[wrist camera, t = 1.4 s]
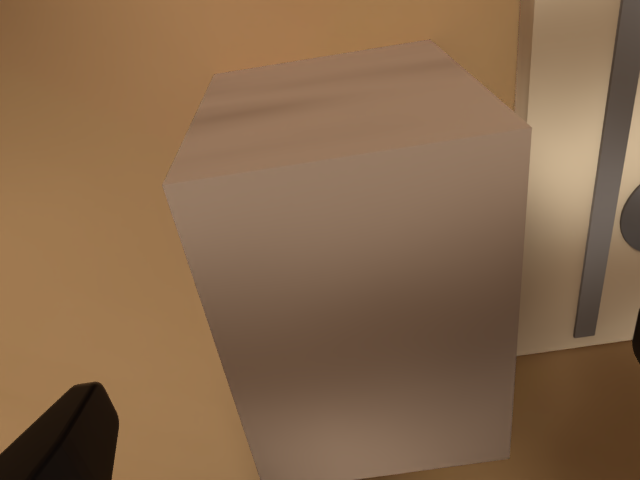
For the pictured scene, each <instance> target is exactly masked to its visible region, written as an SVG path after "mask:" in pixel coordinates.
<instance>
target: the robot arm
mask: <svg viewBox="0 0 640 480" xmlns="http://www.w3.org/2000/svg"><path fill="white" fill-rule="evenodd" d="M632 346H633V351H634V354H635V356H636V358H637V360H638V362H639V364H640V308H639V311H638V316H637V321H636V325H635V330H634V334H633V339H632ZM118 430H119V419H118V415H117V412H116V410H115V408H114V406H113V404H112V402H111V400H110V398H109V396H108V394H107V392H106V390H105V388H104V387H103V385H102V384H101V383H99V382H90V383H83V384H77V385H74V386H73V387H72V388H70V389H69V390H68V391H67V392H66V393H65V394H64V395H63V396H62V397H61V398H60V399H58V400H57V401H56V402H55V403H54V404H53V405H52V406H51V407H50V408H49V409H48V410H47V411H46V412H45V413H44V414H42V415H41V416H40V417H39V418H38V419H37V420H36V421H35V422H34V423H33V424H32V425H31V426H30V427H29V428H28V429H27V430H25V431H24V432H23V433H22V434H21V435H20V436H19V437H18V438H17V439H16V440H15V441H14V442H13V443H12V444H11V445H10V446H8V447H7V448H6V449H5V450H4V451H3V452H2V453H1V454H0V480H112V473H113V465H114V458H115V451H116V444H117V437H118Z"/></svg>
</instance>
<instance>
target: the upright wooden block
mask: <svg viewBox="0 0 640 480" xmlns="http://www.w3.org/2000/svg"><path fill="white" fill-rule="evenodd" d="M531 135H532V127H531V126H530V125H529V124H527V123H526V122H525V121H524V120H523V119H522V118H520V117H519V116H518V115H517V114H516V113H515V112H514V111H512V110H511V109H510V108H509V107H508V106H507V105H505V104H504V103H503V102H502V101H501V100H500V99H498V98H497V97H496V96H495V95H494V94H493V93H492V92H490V91H489V90H488V89H487V88H486V87H485V86H483V85H482V84H481V83H480V82H479V81H478V80H476V79H475V78H474V77H473V76H472V75H471V74H470V73H468V72H467V71H466V70H465V69H464V68H463V67H461V66H460V65H459V64H458V63H457V62H456V61H454V60H453V59H452V58H451V57H450V56H449V55H448V54H446V53H445V52H444V51H443V50H442V49H441V48H439V47H438V46H437V45H436V44H435V43H434V42H432V41H431V40H430V39H429V40H423V41H417V42H411V43H405V44H399V45H392V46H386V47H380V48H374V49H368V50H361V51H355V52H349V53H343V54H337V55H331V56H324V57H318V58H312V59H306V60H300V61H293V62H287V63H281V64H275V65H269V66H262V67H256V68H250V69H244V70H238V71H232V72H225V73H219V74H214V76H213V78H212V80H211V82H210V84H209V86H208V88H207V91H206V93H205V95H204V97H203V99H202V101H201V103H200V106H199V108H198V110H197V112H196V114H195V116H194V118H193V120H192V123H191V125H190V127H189V129H188V131H187V133H186V135H185V138H184V140H183V142H182V144H181V146H180V148H179V150H178V152H177V155H176V157H175V159H174V161H173V163H172V165H171V167H170V169H169V172H168V174H167V176H166V178H165V180H164V182H163V184H162V186H163V189H164V192H165V195H166V198H167V201H168V204H169V207H170V210H171V213H172V216H173V219H174V222H175V225H176V228H177V231H178V234H179V237H180V240H181V243H182V246H183V249H184V252H185V255H186V258H187V261H188V264H189V267H190V270H191V273H192V276H193V279H194V282H195V285H196V288H197V291H198V294H199V297H200V300H201V303H202V306H203V309H204V312H205V315H206V318H207V321H208V324H209V327H210V330H211V333H212V336H213V339H214V342H215V345H216V348H217V351H218V354H219V357H220V360H221V363H222V366H223V369H224V372H225V375H226V378H227V381H228V384H229V387H230V390H231V393H232V396H233V399H234V402H235V405H236V408H237V411H238V414H239V417H240V420H241V423H242V426H243V429H244V432H245V435H246V438H247V441H248V444H249V447H250V450H251V453H252V456H253V459H254V462H255V465H256V468H257V471H258V474H259V477H260V480H357V479H364V478H372V477H379V476H386V475H394V474H401V473H408V472H416V471H423V470H430V469H438V468H445V467H452V466H460V465H467V464H474V463H482V462H489V461H496V460H504V459H509V458H510V444H511V429H512V414H513V400H514V385H515V370H516V356H517V341H518V326H519V311H520V297H521V282H522V267H523V253H524V238H525V223H526V209H527V194H528V179H529V164H530V150H531Z"/></svg>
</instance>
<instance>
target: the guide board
mask: <svg viewBox="0 0 640 480" xmlns="http://www.w3.org/2000/svg"><path fill="white" fill-rule="evenodd" d="M515 113H516V114H517V115H518V116H519V117H520V118H522V119H523V120H524V121H525V122H526V123H527V124H529V125H530V126H531V127H532V135H531V150H530V164H529V179H528V194H527V209H526V223H525V238H524V253H523V267H522V282H521V297H520V311H519V326H518V341H517V356H521V355H528V354H535V353H542V352H549V351H556V350H563V349H570V348H577V347H585V346H592V345H599V344H606V343H613V342H620V341H627V340H632V339H633V334H634V330H635V325H636V321H637V316H638V311H639V308H640V0H520V14H519V34H518V54H517V74H516V94H515Z"/></svg>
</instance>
